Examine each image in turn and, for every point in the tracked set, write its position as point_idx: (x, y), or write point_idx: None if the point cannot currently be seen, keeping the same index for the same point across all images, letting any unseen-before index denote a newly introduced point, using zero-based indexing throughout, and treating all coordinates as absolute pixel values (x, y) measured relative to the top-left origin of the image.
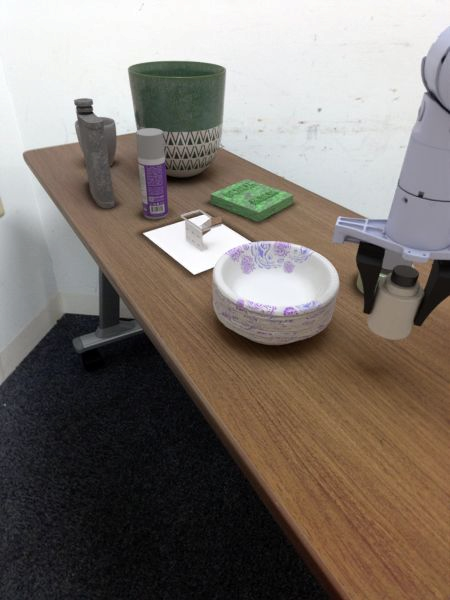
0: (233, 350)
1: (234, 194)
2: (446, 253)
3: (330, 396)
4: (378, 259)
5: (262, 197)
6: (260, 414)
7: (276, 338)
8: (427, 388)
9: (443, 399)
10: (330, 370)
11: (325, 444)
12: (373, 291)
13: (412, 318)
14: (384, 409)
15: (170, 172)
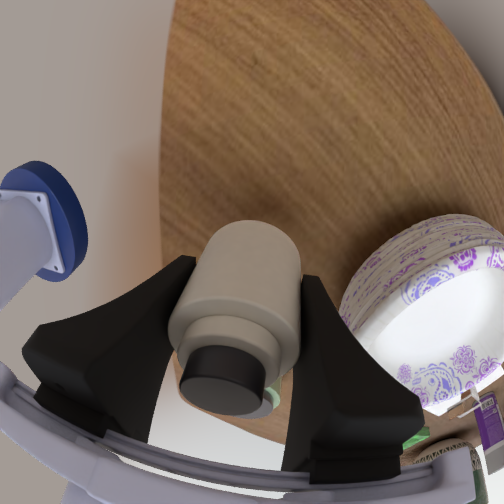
0: (474, 212)
1: (406, 442)
2: (52, 465)
3: (339, 134)
4: (338, 440)
5: None
6: (440, 87)
7: (451, 218)
8: (181, 190)
9: (160, 174)
10: (338, 193)
11: (343, 40)
12: (319, 324)
13: (197, 266)
14: (248, 126)
15: (455, 441)
